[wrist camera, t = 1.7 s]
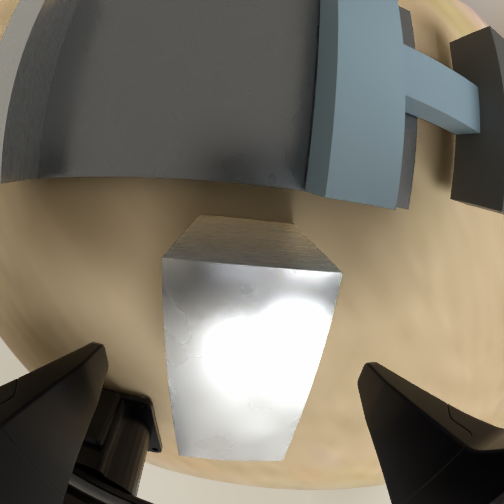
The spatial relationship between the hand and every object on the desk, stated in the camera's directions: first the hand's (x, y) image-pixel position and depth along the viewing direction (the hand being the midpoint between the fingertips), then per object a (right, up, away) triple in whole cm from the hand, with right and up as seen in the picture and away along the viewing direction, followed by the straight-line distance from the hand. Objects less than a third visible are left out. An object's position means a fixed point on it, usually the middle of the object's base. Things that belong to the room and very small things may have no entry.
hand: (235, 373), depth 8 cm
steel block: (0, +1, +5) cm, 5 cm away
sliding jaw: (+8, +11, +1) cm, 13 cm away
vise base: (-2, +12, +1) cm, 12 cm away
